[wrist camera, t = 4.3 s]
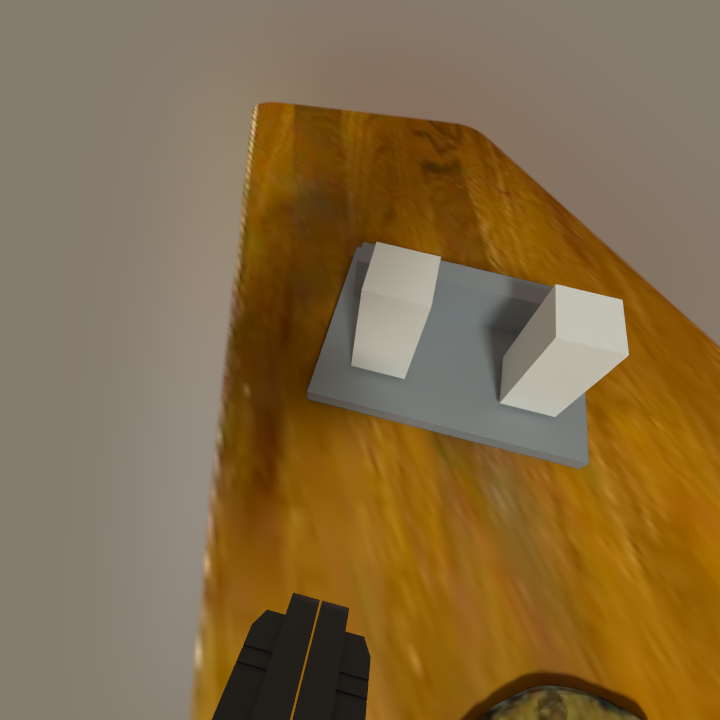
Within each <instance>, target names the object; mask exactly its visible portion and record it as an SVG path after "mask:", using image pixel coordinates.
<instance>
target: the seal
mask: <svg viewBox="0 0 720 720" xmlns="http://www.w3.org/2000/svg"><path fill="white" fill-rule="evenodd" d="M477 720H643V719H642V718H640V717H639V716H637V715H635V714H633V713H631V712H629V711H627V710H625V709H623V708H621V707H619V706H617V705H615V704H613V703H611V702H609V701H607V700H605V699H603V698H601V697H599V696H597V695H594V694H591V693H588V692H585V691H581V690H578V689H573V688H568V687H561V686H536V687H532V688H529V689H526V690H524V691H521V692H519V693H517V694H515V695H514V696H512V697H510V698H508V699H506V700H504V701H502V702H500V703H498V704H496V705H494V706H493V707H492V708H490V709H489V710H487V711H486V712H485V713H484V714H483V715H482V716H481V717H480V718H478V719H477Z"/></svg>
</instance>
